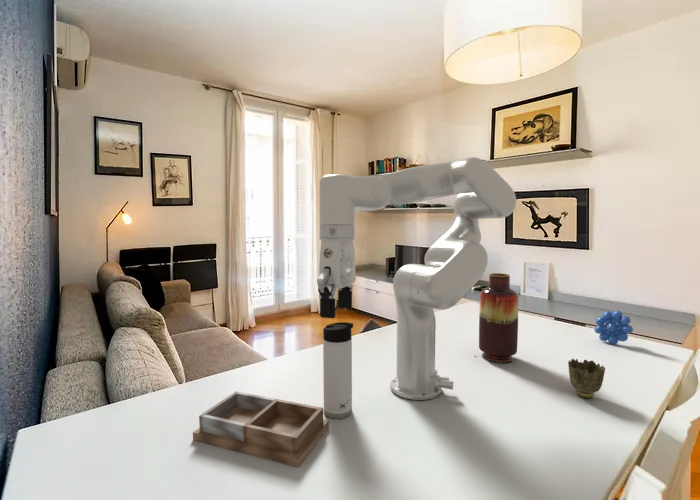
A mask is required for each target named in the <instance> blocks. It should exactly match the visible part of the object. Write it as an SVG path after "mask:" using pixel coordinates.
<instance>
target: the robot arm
mask: <svg viewBox="0 0 700 500" xmlns="http://www.w3.org/2000/svg"><path fill="white" fill-rule="evenodd" d="M454 195H456V197H455V200H454V203H453V210H454V214H453V216H454V217H453V218H454V220H453V224H452V225H451V227H450V228H449V229H448V230H447V231H446V232H445V233H444V234H442V236H440V238H438V239H437V240H436V241H435V242H434V243H433V244H432V245H431V246H429V247H428V249H427V251H426V252H425V254H424V260H423V261H424V264H421V263H420V264H419V263H408V264H404V265H403V266H401V267H399V269H398V270H397V271H396V272H395V274H394V277H393V280H392V281H393V282H392V288H393V293H394V300H395V306H396V377H394V378H393V379H391V381H390V390H391V391H392V392H393V394H395V395H397V396H399V397H401V398H404V399H406V400H413V401H427V400H432V399H434V398H437V397H438V396H439V395H440V394H441V393H442V388H443V389H447V390H454V381H453V380H450V377H448V376H440V375H438V369H436V330H437V325H436V323H437V321H436V315H435V311H434V310H441V311H442V310H448V309H450V308H452V307H454V306H455V305H457V303H458V302H459V301H460V300H461V299H462V298H464V297H465V296H466V294H467V293H468V292H469V291H470V290H471V289H472V288H473V287H474V286H475V284H477V283H478V281H480V280H481V278H482V277H483V276H484V274H485V272H486V269H487V267H488V262H489V261H488V260H489V258H488V253H487V250H486V248H485V247H484V245H482V244H481V241H482V233H481V230H480V225H479V220H480V219H483V220H484V219H485V220H486V219H487V220H488V219H503V218H507V217H509V216H510V215H512V214H513V212H514V210H516V206H517V197H516V193H515V192H514V190H513V188H512V186H511V185H510V184H509V183H508V182H507V181H506V180H505V179H504V178H503V177H502V176H501V175H500V174H499V173H498V172H497V171H496V170H495V168H493V167H492V166H491V165H490V164H488V163H487V162H486V161H484V160H483V159H481V158H479V157H473V156H471V157H467V158H461V159H457V160H451V161H446V162H439V163H434V164H427V165H421V166H418V165H417V166H413V167H408V168H403V169H400V170H397V171H393V172H389V173H387V174H381V175H364V176H351V175H348V174H342V173H341V174H340V173H339V174H338V173H337V174H334V173H333V174H326V175H325V174H324V175H322V177H320V179H319V241H321V242H320V251H319V267H318V269H319V272H318V274H319V276H318V277H317V279H316V283H317V286H318V289H317V291H318V294H319V295H318V297H319V317H321V318H325V319H334V318H336V298H334V297H335V294H336V290H337V288H338V291H337V297H338V298H337V300H338V301H337V305H338V306H337V307H338V308H344V309H351V308H352V307H353V284H354V283H355V282H356V277H357V275H356V273H357V272H356V255H355V244H354V241H355V239H356V238H355V233H356V232H355V228H356V227H355V217H356V215H355V214H356V213H355V212H368V211H370V212H371V211H372V212H373V211H378V210H381V209H383V208H385V207H386V206H390V205H391V206H392V205H407V204H415V203H421V202H425V201H430V200H436V199H440V198H444V197H445V198H446V197H449V196H450V197H451V196H454Z"/></svg>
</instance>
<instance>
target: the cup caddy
mask: <svg viewBox="0 0 700 500" xmlns="http://www.w3.org/2000/svg"><path fill="white" fill-rule="evenodd" d="M198 419H199V420H198V421H199V425H198V426H199V427H198V428H197V429H195V430H194V431H192V441H196V442H200V443H204V444H207V445H211V446H214V447H215V446H216V447H219V448H222V449H227V450H231V451H234V452H238V453H242V454H247V455H250V456H253V457H258V458H261V459H265V460H268V461H269V460H270V461H273V462H275V463H276V462H277V463H281V464H285V465H288V466H291V467H297V468H299V467H300V465H301V464H302V463H304V461H305V459H306V458H307V457H308V455H309V454H311V451H312V450H313V449H314V448H315V446H317V444H318V442H319V441H320V440H321V439H322V438H323V436H324V434H325V433H326V432H327V431H328V430H329V428H330V426H329V425H330V420H327V419H324V407H321V406H317V405H311V404H305V403H299V402H295V401H291V400H290V401H288V400H284V399H278V398H274V397H273V398H272V397H269V396H262V395H257V394H252V393H246V392H241V391H234V392H233V393H231V394H230V395H228V396H226V398H224V399H222V400H221V401H219V402H217V403H216V404H215V405H214V406H211V407H210V408H209V409H207V410H205V411H204V412H203V413H201V414H199V416H198Z"/></svg>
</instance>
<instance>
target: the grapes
mask: <svg viewBox="0 0 700 500" xmlns="http://www.w3.org/2000/svg"><path fill="white" fill-rule="evenodd" d="M631 322H632V321H631V318H630V316H627V315H623V313H622V311H621V310H614V311H613V312H612V311H609V310H606V311H604V312H602V315H601V316H598V317H597V318H596V319H595V324H596V326H595V327H594V333H596V334H599V335H598V338H599V340H600V341H602V342H607V341H608V343H609V344H610V345H616V344H618V343H619V342H622V343H623V342H626V341H628V339H629V334H630V335H631V334H632V332H633V330H634V328H633V326H632V325H629V324H631Z"/></svg>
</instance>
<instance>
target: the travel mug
mask: <svg viewBox="0 0 700 500" xmlns="http://www.w3.org/2000/svg"><path fill="white" fill-rule="evenodd" d="M353 328H354V323H352V322H347V321H346V322H345V321H344V322H341V321H340V322H335V323H330V324H327V325H325V327H323V330H322V331H323V332H322V333H323V335H322V336H323V337H322V340H323V341H322V344H323V345H322V347H323V348H322V349H323V350H322V355H323V356H322V357H323V360H322V361H323V362H322V363H323V374H322V375H323V414H324V415H325V416H327V417H328V418H330V419H335V420H337V419H345V418H347V417H349V416H351V414H352V412H353V376H352V375H353V372H352V371H353V369H352V368H353V367H352V366H353V358H352V357H353V354H352V352H353V350H352V349H353V348H352V347H353V346H352V345H353V343H352V342H353V341H352V339H353V338H352V329H353Z"/></svg>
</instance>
